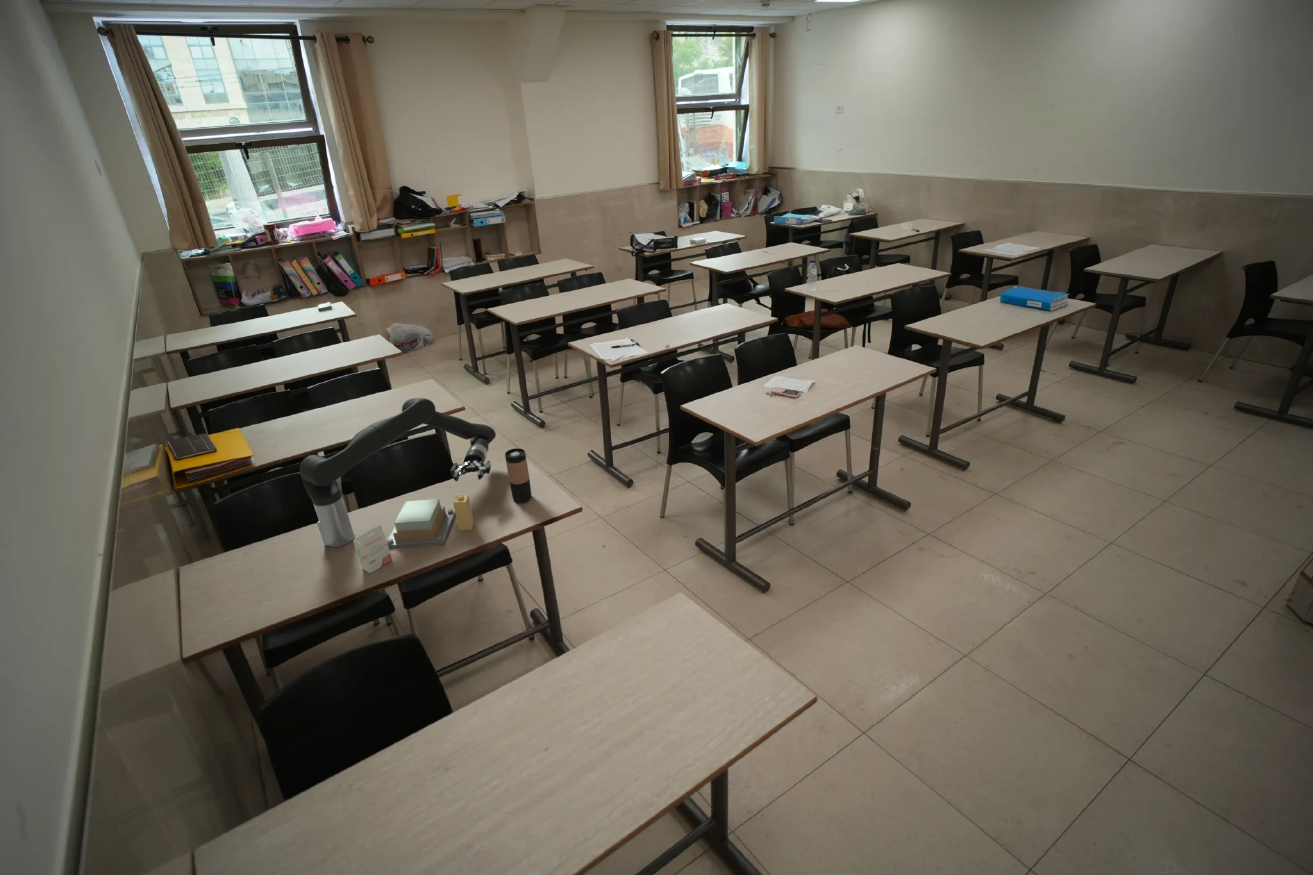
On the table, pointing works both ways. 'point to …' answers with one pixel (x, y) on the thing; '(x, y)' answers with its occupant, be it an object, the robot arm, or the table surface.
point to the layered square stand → (421, 524)
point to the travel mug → (518, 475)
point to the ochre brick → (463, 512)
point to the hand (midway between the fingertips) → (467, 478)
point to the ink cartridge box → (372, 549)
